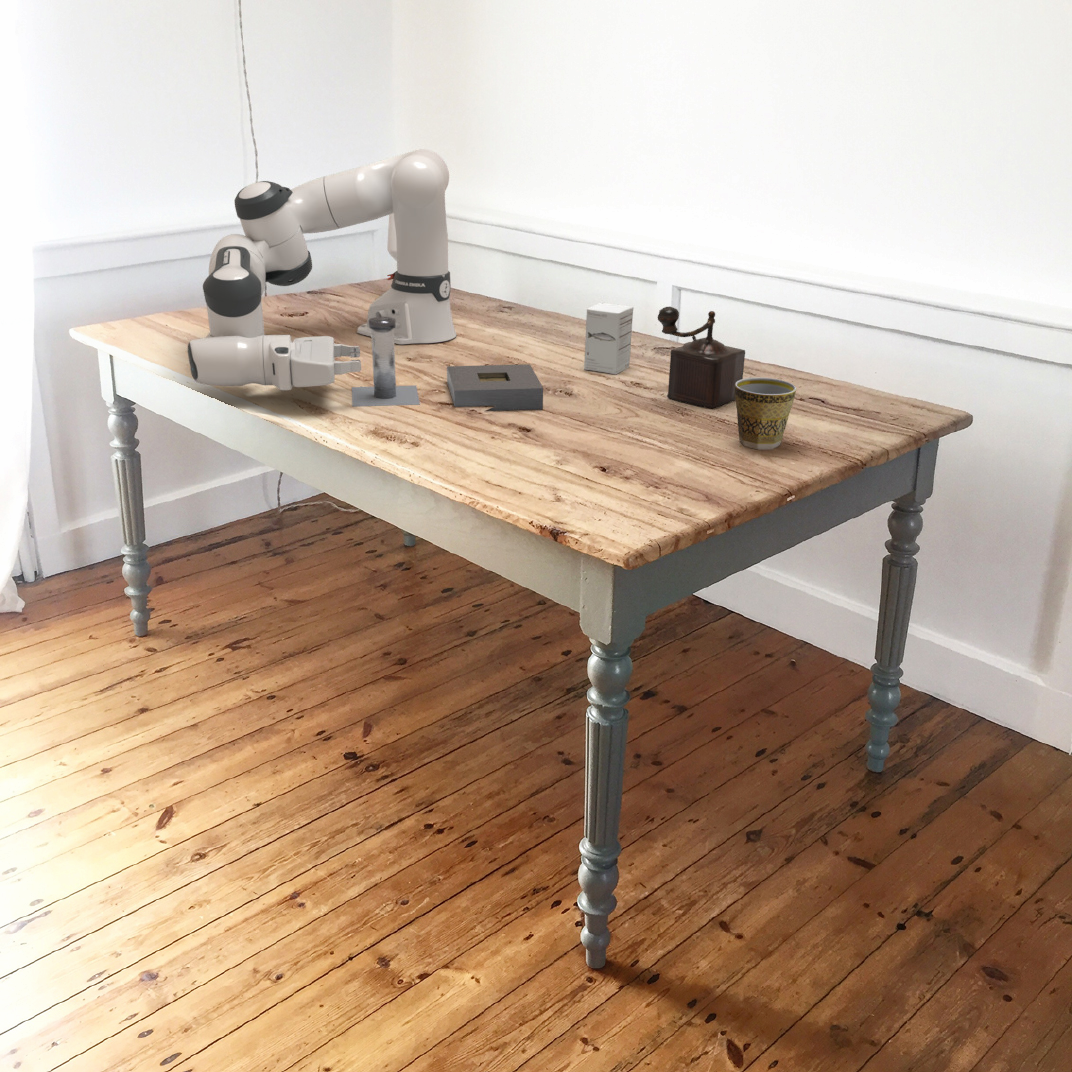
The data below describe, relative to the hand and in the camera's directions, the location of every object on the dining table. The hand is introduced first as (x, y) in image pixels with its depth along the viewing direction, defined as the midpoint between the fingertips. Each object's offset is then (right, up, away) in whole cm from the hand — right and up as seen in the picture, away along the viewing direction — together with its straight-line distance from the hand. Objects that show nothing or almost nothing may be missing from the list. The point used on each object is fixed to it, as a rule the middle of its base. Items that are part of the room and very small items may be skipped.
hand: (360, 358), depth 207 cm
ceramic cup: (+69, -16, -12) cm, 72 cm away
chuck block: (+24, -6, +7) cm, 26 cm away
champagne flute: (-2, +26, +80) cm, 84 cm away
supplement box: (+46, +2, +27) cm, 54 cm away
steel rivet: (+4, -6, +4) cm, 8 cm away
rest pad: (+4, -7, +4) cm, 9 cm away
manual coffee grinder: (+61, -7, +8) cm, 62 cm away
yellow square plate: (+24, -4, +7) cm, 25 cm away
